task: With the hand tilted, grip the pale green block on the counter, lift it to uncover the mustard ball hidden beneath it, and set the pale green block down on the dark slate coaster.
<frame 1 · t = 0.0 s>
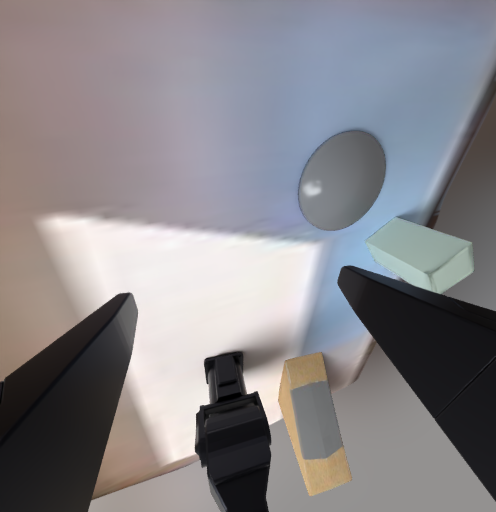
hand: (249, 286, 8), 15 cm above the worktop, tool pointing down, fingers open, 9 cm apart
sandwich container: (298, 375, 43), on the worktop
pale green block: (384, 240, 29), on the worktop
coaster: (340, 185, 23), on the worktop
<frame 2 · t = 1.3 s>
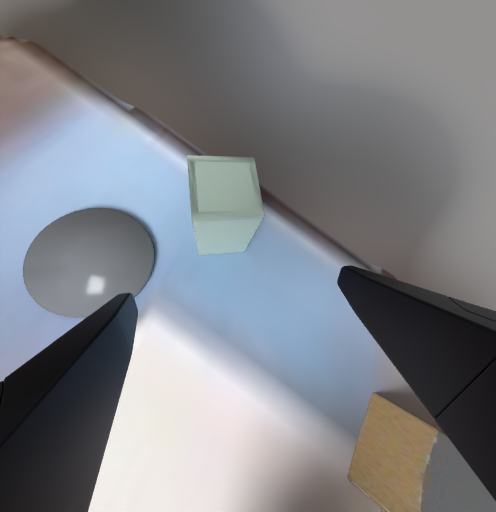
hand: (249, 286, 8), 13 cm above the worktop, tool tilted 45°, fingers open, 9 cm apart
sandwich container: (418, 469, 20), on the worktop
pale green block: (219, 232, 23), on the worktop
coaster: (95, 260, 20), on the worktop
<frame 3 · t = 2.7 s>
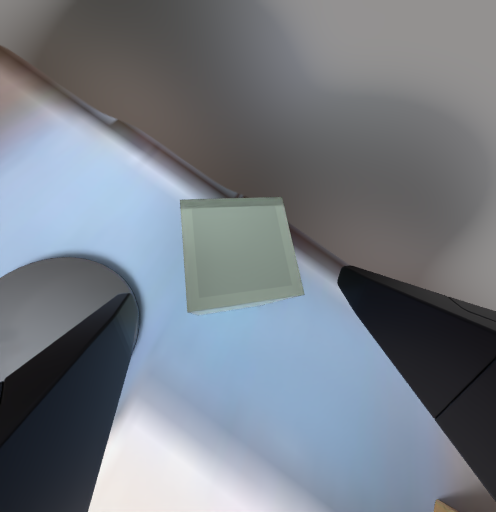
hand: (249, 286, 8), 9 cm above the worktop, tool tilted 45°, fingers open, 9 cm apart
pale green block: (225, 280, 18), on the worktop
coaster: (56, 332, 14), on the worktop
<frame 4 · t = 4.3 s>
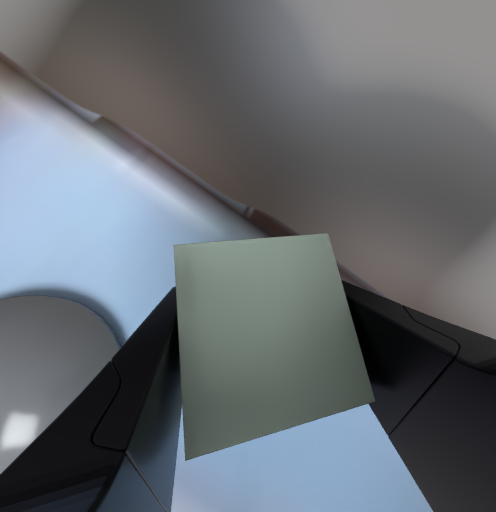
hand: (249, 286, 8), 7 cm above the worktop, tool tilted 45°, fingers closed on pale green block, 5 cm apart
pale green block: (234, 318, 14), on the worktop, touching gripper
coaster: (13, 398, 11), on the worktop
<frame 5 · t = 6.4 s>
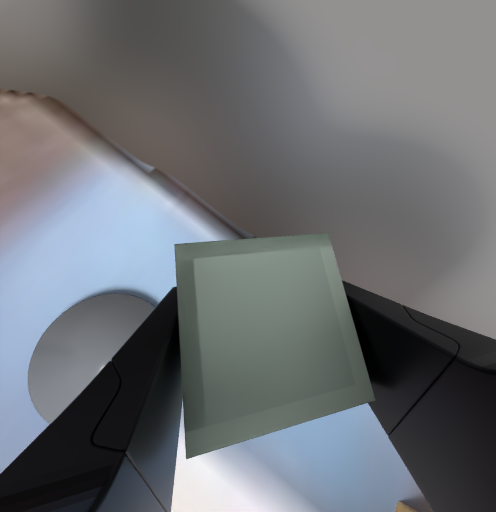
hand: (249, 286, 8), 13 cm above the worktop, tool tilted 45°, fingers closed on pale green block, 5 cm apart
pale green block: (234, 318, 14), point 7 cm above the worktop, touching gripper
coaster: (108, 355, 18), on the worktop
when the fingers open (8 cm above the worktop, at t = 8.6 s): pale green block stays where it is, resting on coaster.
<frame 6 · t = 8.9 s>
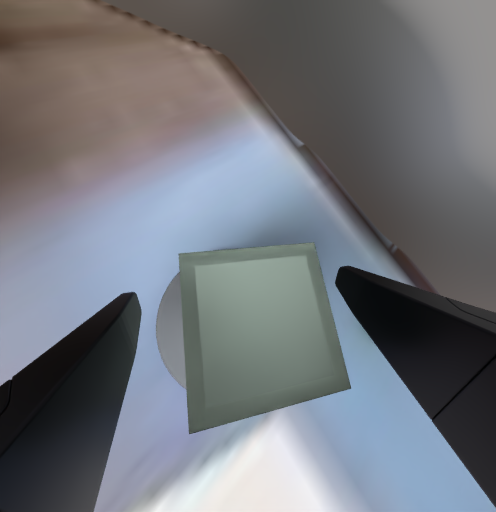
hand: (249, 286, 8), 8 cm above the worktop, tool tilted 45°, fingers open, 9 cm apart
pale green block: (232, 317, 15), point 1 cm above the worktop, touching coaster
coaster: (231, 318, 16), on the worktop
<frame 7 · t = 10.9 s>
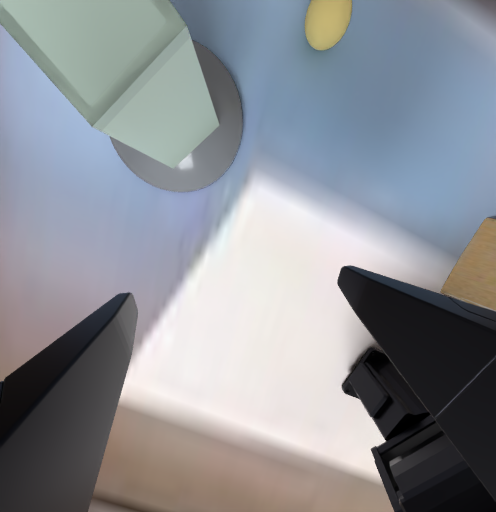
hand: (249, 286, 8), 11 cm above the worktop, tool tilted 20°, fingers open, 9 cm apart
pale green block: (173, 119, 16), point 1 cm above the worktop, touching coaster
mustard ball: (327, 18, 13), on the worktop
coaster: (176, 123, 16), on the worktop
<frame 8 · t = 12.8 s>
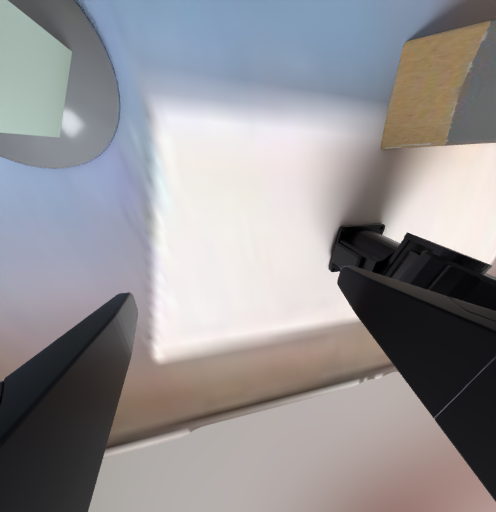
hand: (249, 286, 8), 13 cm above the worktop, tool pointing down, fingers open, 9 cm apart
sandwich container: (448, 97, 20), on the worktop
pale green block: (12, 69, 12), point 1 cm above the worktop, touching coaster
coaster: (20, 73, 12), on the worktop
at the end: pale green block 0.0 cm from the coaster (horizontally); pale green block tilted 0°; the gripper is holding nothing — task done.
